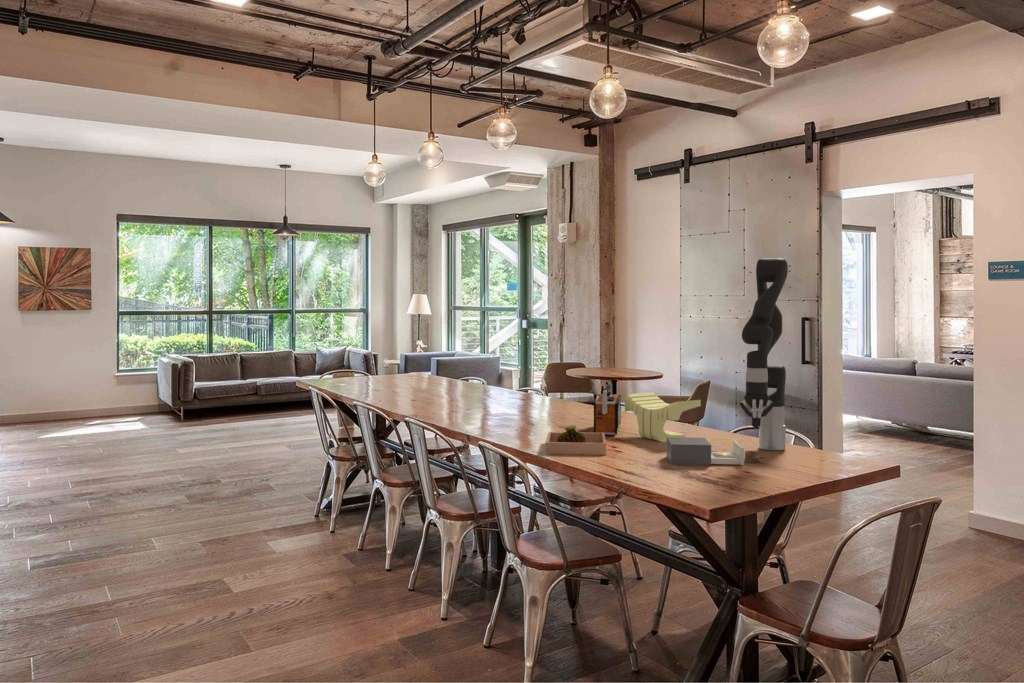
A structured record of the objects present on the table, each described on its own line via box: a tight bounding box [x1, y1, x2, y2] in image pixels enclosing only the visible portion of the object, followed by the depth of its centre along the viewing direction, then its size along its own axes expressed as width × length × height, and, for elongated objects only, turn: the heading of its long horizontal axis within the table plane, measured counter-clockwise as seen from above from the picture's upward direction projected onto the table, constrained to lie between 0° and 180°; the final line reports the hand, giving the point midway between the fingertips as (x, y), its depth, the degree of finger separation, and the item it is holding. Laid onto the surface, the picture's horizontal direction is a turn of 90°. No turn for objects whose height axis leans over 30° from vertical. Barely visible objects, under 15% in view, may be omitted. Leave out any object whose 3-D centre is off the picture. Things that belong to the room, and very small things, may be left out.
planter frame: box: [545, 431, 607, 456], centre depth 298 cm, size 23×23×4 cm
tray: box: [711, 440, 745, 466], centre depth 273 cm, size 14×14×6 cm
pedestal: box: [744, 450, 760, 464], centre depth 273 cm, size 5×5×4 cm
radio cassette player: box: [593, 383, 622, 436], centre depth 338 cm, size 29×10×20 cm, turn 169°
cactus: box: [557, 424, 585, 443], centre depth 297 cm, size 17×16×10 cm
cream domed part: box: [715, 453, 732, 458], centre depth 273 cm, size 6×6×2 cm
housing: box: [666, 436, 712, 467], centre depth 274 cm, size 14×14×7 cm
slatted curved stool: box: [624, 391, 702, 443], centre depth 319 cm, size 30×16×18 cm, turn 30°
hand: (756, 427), depth 271 cm, fingers closed
